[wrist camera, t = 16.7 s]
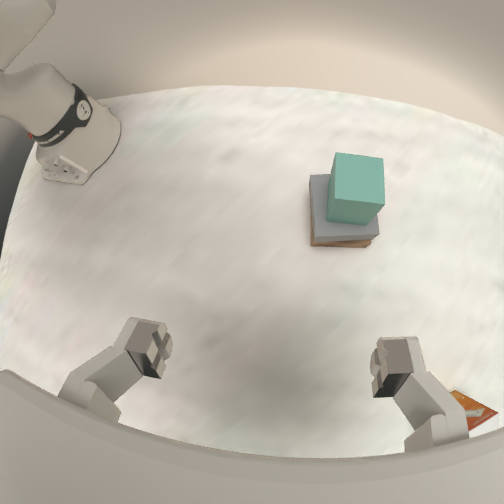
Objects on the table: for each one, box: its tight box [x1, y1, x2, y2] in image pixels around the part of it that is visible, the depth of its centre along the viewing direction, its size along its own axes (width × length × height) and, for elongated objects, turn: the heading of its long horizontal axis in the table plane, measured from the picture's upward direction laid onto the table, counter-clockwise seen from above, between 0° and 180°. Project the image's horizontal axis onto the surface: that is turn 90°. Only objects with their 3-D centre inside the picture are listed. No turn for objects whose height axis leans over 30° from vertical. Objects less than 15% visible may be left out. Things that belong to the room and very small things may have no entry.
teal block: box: [326, 153, 385, 226], centre depth 30 cm, size 5×5×8 cm
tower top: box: [309, 174, 379, 243], centre depth 35 cm, size 8×8×4 cm
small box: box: [450, 390, 499, 438], centre depth 26 cm, size 8×6×13 cm
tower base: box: [311, 213, 371, 248], centre depth 39 cm, size 8×8×4 cm
